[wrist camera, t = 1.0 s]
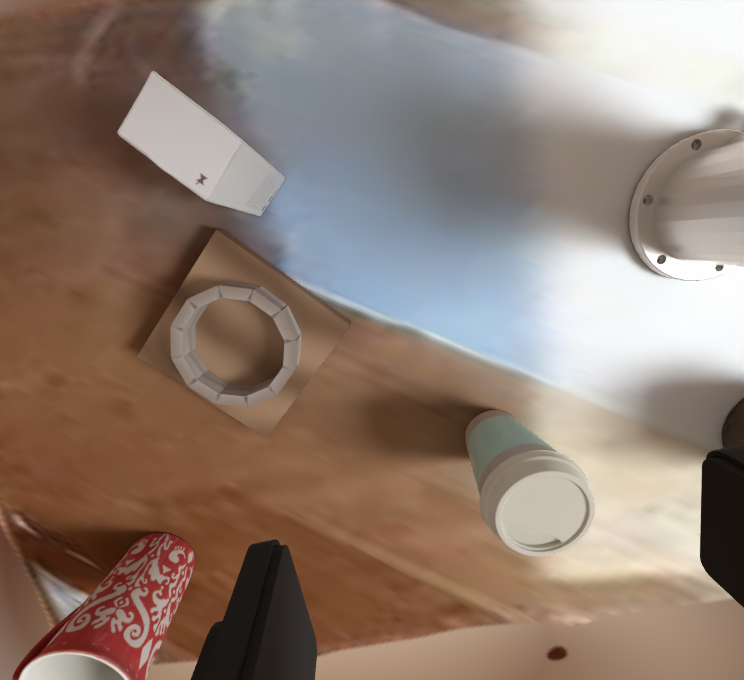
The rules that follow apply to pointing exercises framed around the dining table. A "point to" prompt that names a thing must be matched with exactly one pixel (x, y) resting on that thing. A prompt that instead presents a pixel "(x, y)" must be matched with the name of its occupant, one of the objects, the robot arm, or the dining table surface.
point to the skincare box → (198, 149)
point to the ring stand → (243, 334)
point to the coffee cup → (527, 486)
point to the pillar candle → (734, 427)
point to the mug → (118, 618)
